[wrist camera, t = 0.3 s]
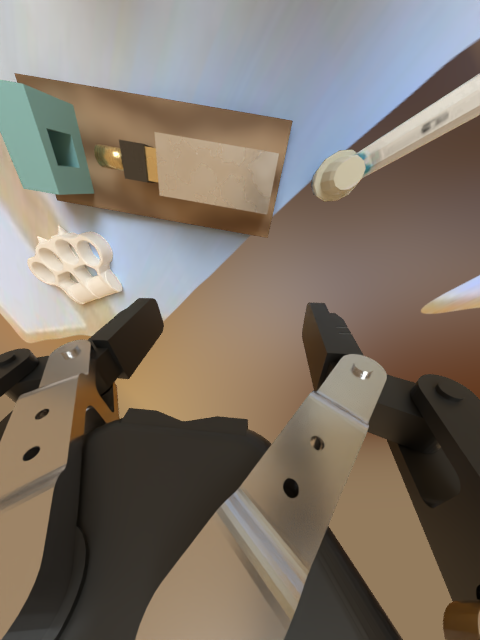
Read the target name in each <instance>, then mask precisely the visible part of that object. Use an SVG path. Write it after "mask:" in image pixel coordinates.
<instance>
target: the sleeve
mask: <svg viewBox="0 0 480 640" xmlns="http://www.w3.org/2000/svg"><path fill="white" fill-rule="evenodd" d="M154 133H155V145H156V158H157V170H158V183H159V195H160V196H165V197H171V198H177V199H182V200H188V201H194V202H199V203H205V204H211V205H216V206H222V207H227V208H233V209H239V210H244V211H250V212H256V213H261V214H267V212H268V207H269V202H270V197H271V192H272V187H273V182H274V177H275V172H276V167H277V162H278V157H279V153H274V152H268V151H262V150H256V149H251V148H245V147H239V146H233V145H227V144H222V143H216V142H210V141H204V140H199V139H193V138H187V137H181V136H175V135H170V134H164V133H158V132H154Z"/></svg>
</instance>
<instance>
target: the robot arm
mask: <svg viewBox="0 0 480 640" xmlns="http://www.w3.org/2000/svg"><path fill="white" fill-rule="evenodd" d="M163 327H164V325H163V320H162V317H161V314H160V310H159V307H158V304H157V302H156V300H155V299H153V298H139V299H137V300H136V301H135V302H134V303H133V304H132V305H130V306H129V307H128V308H127V309H125V310H123V311H121V312H120V313H119V314H117V315H116V316H115V317H114V319H112V320H110V321H109V322H108V324H106V325H105V326H103V327H102V328H101V329H100V330H99V331H98V332H96V333H95V334H94V335H93V336H92V337H91V338H89V339H88V340H76V341H72V342H69V343H67V344H64V345H62V346H60V347H59V348H57V349H56V350H54V352H52V353H51V354H50V356H45V357H38V358H36V357H35V356H34V355H33V353H32V352H31V351H30V350H29V349H16V350H13V351H9V352H6V353H4V354H1V355H0V397H1V396H2V395H3V394H6V395H7V396H8V397H9V398H11V399H12V400H13V401H14V402H15V403H16V405H15V407H14V410H13V411H12V412H11V413H10V414H8V415H7V416H6V417H5V418H4V419H3V420H2V421H1V422H0V640H403V639H402V638H401V636H400V635H399V633H398V632H397V630H396V629H395V627H394V626H393V624H392V622H391V621H390V619H389V618H388V616H387V615H386V613H385V612H384V610H383V609H382V607H381V606H380V604H379V603H378V601H377V600H376V598H375V597H374V595H373V593H372V592H371V590H370V589H369V588H368V586H367V584H366V583H365V581H364V580H363V578H362V577H361V575H360V574H359V572H358V571H357V569H356V568H355V566H354V564H353V563H352V561H351V560H350V558H349V557H348V555H347V554H346V552H345V551H344V550H343V548H342V546H341V545H340V543H339V542H338V540H337V539H336V537H335V535H334V534H333V532H332V531H331V529H330V528H329V526H328V525H329V522H330V520H331V517H332V515H333V513H334V510H335V508H336V506H337V503H338V501H339V498H340V496H341V493H342V491H343V488H344V486H345V484H346V481H347V479H348V477H349V474H350V472H351V469H352V467H353V464H354V462H355V459H356V457H357V455H358V453H359V450H360V447H361V445H362V443H363V440H364V438H365V436H366V433H367V432H370V433H372V434H375V435H377V436H380V437H382V438H385V439H387V442H388V444H389V446H390V449H391V451H392V454H393V456H394V459H395V461H396V464H397V466H398V468H399V471H400V473H401V475H402V478H403V481H404V483H405V485H406V488H407V491H408V493H409V495H410V498H411V500H412V502H413V505H414V508H415V510H416V513H417V515H418V517H419V520H420V522H421V525H422V527H423V530H424V532H425V534H426V537H427V539H428V542H429V544H430V547H431V549H432V551H433V554H434V557H435V559H436V561H437V564H438V566H439V569H440V571H441V573H442V576H443V578H444V581H445V583H446V586H447V588H448V591H449V593H450V596H451V598H452V601H453V602H451V603H449V605H448V606H447V607H446V609H445V612H444V616H443V630H444V637H445V640H480V400H479V399H478V397H476V395H474V393H472V392H471V391H470V390H469V389H467V388H466V387H464V386H463V385H461V384H459V383H458V382H455V381H453V380H451V379H449V378H446V377H442V376H439V375H431V374H428V375H423V376H421V377H420V378H419V380H418V381H417V382H416V383H414V382H410V381H407V380H403V379H400V378H396V377H393V376H390V375H387V374H386V372H385V370H384V369H383V367H382V366H381V365H379V364H378V363H377V362H376V361H374V360H372V359H370V358H368V357H366V356H363V354H362V352H361V350H360V348H359V347H358V345H357V343H356V341H355V339H354V338H353V336H352V335H351V332H350V331H349V329H348V328H347V325H346V323H345V322H344V320H343V319H342V318H341V317H339V316H338V315H337V314H335V313H329V311H328V309H327V307H326V305H325V303H308V304H307V308H306V313H305V318H304V324H303V331H302V338H303V343H304V347H305V352H306V356H307V361H308V365H309V369H310V374H311V378H312V383H313V387H314V391H312V392H311V393H310V394H309V395H308V397H307V398H306V399H305V401H304V402H303V403H302V405H301V406H300V407H299V409H298V410H297V411H296V413H295V414H294V415H293V417H292V418H291V419H290V421H289V422H288V423H287V425H286V426H285V427H284V429H283V430H282V431H281V433H280V434H279V435H278V437H277V438H276V439H275V441H274V442H273V443H272V444H271V443H270V442H269V441H268V440H266V439H265V438H264V437H262V436H261V435H259V434H257V433H256V432H254V431H251V430H248V420H247V419H237V418H228V417H211V418H204V419H198V420H192V421H180V420H178V419H175V418H173V417H171V416H168V415H165V414H163V413H161V412H159V411H154V410H144V409H133V408H129V410H128V411H127V413H126V414H125V416H124V417H123V418H122V419H119V408H118V395H117V385H116V384H115V380H116V379H117V378H123V379H129V378H130V377H131V375H132V374H133V372H134V371H135V370H136V368H137V367H138V365H139V364H140V363H141V361H142V360H143V358H144V357H145V356H146V354H147V353H148V352H149V350H150V349H151V347H152V346H153V345H154V343H155V342H156V340H157V339H158V338H159V336H160V335H161V333H162V331H163Z"/></svg>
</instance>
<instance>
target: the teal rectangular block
mask: <svg viewBox="0 0 480 640" xmlns="http://www.w3.org/2000/svg"><path fill="white" fill-rule="evenodd" d="M0 132H1V135H2V137H3V140H4V142H5V144H6V147H7V149H8V152H9V154H10V157H11V159H12V161H13V164H14V166H15V169H16V171H17V174H18V176H19V179H20V181H21V183H22V186H23V188H24V189H30V190H35V191H41V192H47V193H52V194H58V195H68V194H94V190H93V185H92V181H91V177H90V173H89V169H88V165H87V161H86V156H85V152H84V148H83V144H82V140H81V136H80V131H79V127H78V123H77V119H76V115H75V111H74V107H73V105H72V104H70V103H67V102H65V101H63V100H60V99H58V98H56V97H53V96H51V95H48V94H46V93H44V92H41V91H39V90H37V89H34V88H32V87H30V86H27V85H25V84H22V83H16V82H10V81H4V80H0Z"/></svg>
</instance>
